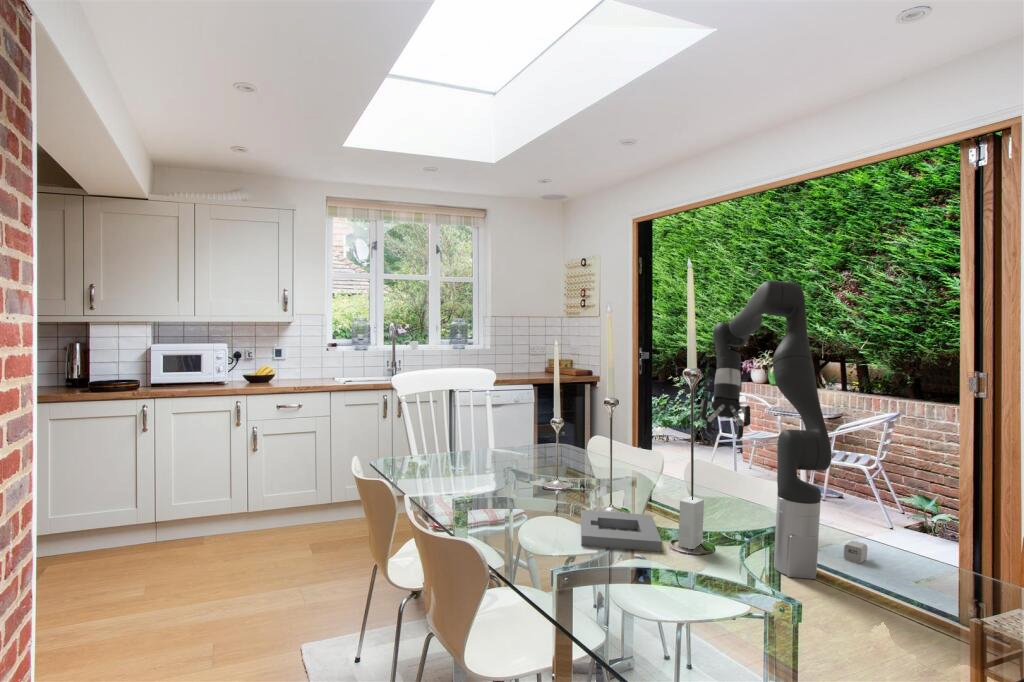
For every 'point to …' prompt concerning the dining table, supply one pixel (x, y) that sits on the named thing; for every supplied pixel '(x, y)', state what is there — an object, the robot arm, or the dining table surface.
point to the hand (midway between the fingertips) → (723, 437)
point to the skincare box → (691, 522)
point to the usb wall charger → (855, 552)
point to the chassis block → (619, 539)
